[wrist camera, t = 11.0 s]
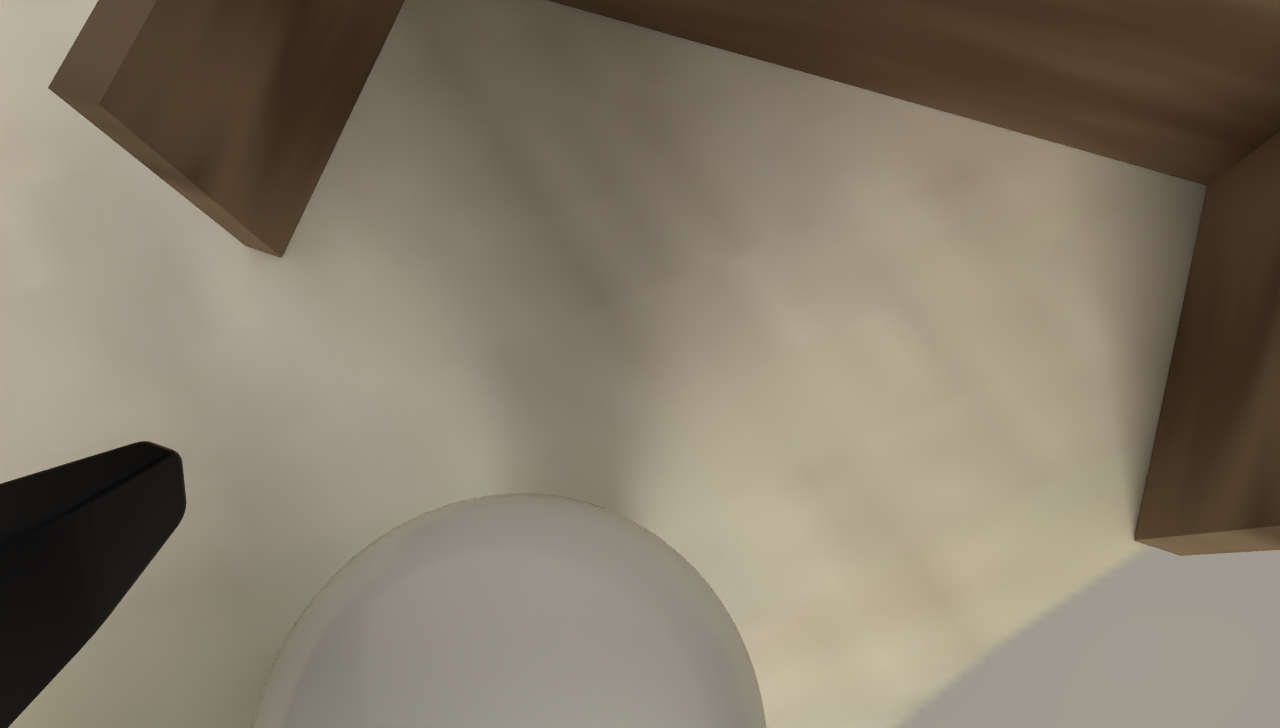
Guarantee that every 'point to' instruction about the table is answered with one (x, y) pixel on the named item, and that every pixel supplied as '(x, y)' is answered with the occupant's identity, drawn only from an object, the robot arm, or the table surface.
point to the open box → (846, 52)
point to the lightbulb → (514, 629)
